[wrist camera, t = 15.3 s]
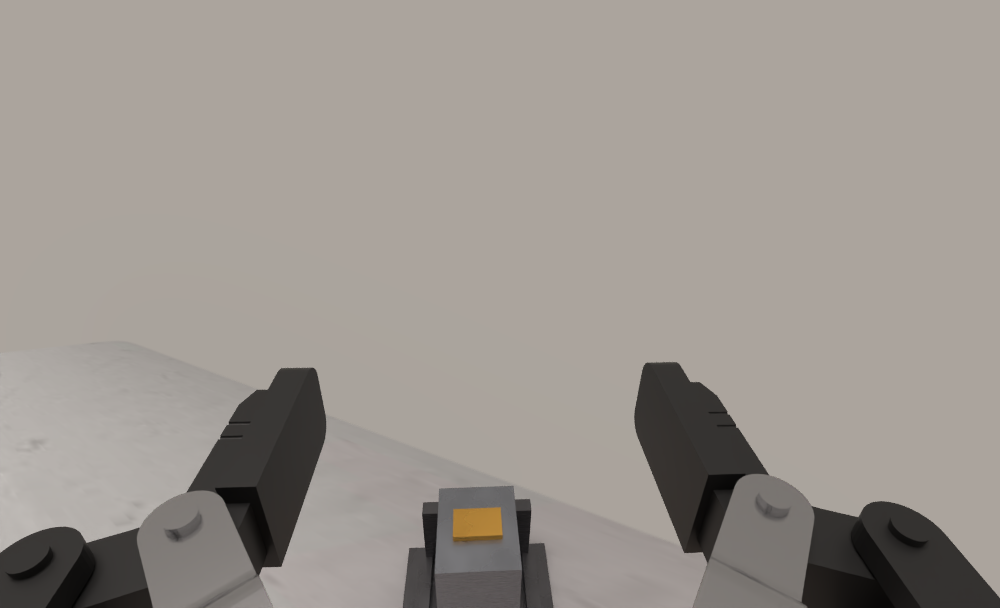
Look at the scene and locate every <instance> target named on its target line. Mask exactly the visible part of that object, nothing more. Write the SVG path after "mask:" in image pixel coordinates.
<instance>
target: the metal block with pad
mask: <svg viewBox="0 0 1000 608" xmlns="http://www.w3.org/2000/svg"><path fill="white" fill-rule="evenodd" d="M521 578H522V564H521V555H520V545H519V535H518V526H517V516H516V506H515V497H514V487H513V486H499V487H472V488H445V489H439V503H438V521H437V540H436V558H435V585H436V598H437V608H520V595H521Z"/></svg>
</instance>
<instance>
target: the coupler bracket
mask: <svg viewBox="0 0 1000 608" xmlns="http://www.w3.org/2000/svg"><path fill="white" fill-rule="evenodd" d="M438 503H439V502H427V503H423V512H422V517H423V528H424V539H425V548H409V557H408V566H407V575H406V584H405V592H404V601H403V608H437V598H436V585H435V558H436V540H437V521H438ZM515 506H516V516H517V526H518V535H519V545H520V555H521V564H522V578H521V595H520V608H553V603H552V596H551V589H550V582H549V575H548V567H547V560H546V553H545V546H544V543H540V544H529V536H530V522H531V504H530V499H521V500H515Z"/></svg>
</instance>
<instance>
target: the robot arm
mask: <svg viewBox="0 0 1000 608" xmlns="http://www.w3.org/2000/svg"><path fill="white" fill-rule="evenodd" d="M634 418H635V429H636V433H637V436H638V439H639V441H640V444H641V446H642V448H643V451H644V454H645V456H646V459H647V461H648V464H649V466H650V469H651V471H652V474H653V476H654V479H655V481H656V484H657V486H658V489H659V491H660V493H661V496H662V498H663V501H664V504H665V506H666V509H667V511H668V513H669V516H670V518H671V521H672V523H673V526H674V528H675V530H676V533H677V536H678V538H679V541H680V543H681V546H682V548H683V551H684V553H697V552H703V554H704V556H705V558H706V561H707V563H708V564H707V567H706V570H705V573H704V576H703V579H702V582H701V585H700V588H699V590H698V593H697V596H696V599H695V602H694V605H693V608H1000V598H999V597H998V596H997V594H996V593H995V592H994V591H993V590H992V588H991V587H990V586H989V585H988V584H987V583H986V582H985V580H984V579H983V578H982V577H981V576H980V574H979V573H978V572H977V571H976V570H975V569H974V568H973V566H972V565H971V564H970V563H969V562H968V560H967V559H966V558H965V557H964V556H963V555H962V553H961V552H960V551H959V550H958V549H957V548H956V546H955V545H954V544H953V543H952V542H951V541H950V539H949V538H948V537H947V536H946V535H945V534H944V533H943V532H942V530H941V529H940V528H938V527H937V526H936V525H935V524H934V523H933V522H931V521H930V520H929V519H927V518H926V517H924V516H922V515H921V514H919V513H918V512H916V511H914V510H912V509H910V508H907V507H905V506H902V505H899V504H895V503H891V502H882V501H880V502H873V503H870V504H868V505H866V506H865V507H864V508H863V510H862V512H861V514H860V516H859V517H854V516H850V515H846V514H841V513H837V512H833V511H828V510H824V509H820V508H816V507H813V506H811V505H810V503H809V501H808V500H807V499H806V498H805V496H804V495H803V494H802V493H801V492H800V491H798V490H797V489H796V488H795V487H793V486H792V485H790V484H789V483H787V482H785V481H783V480H781V479H779V478H775V477H773V476H769V474H768V473H767V471H766V470H765V468H764V467H763V465H762V464H761V462H760V461H759V459H758V457H757V456H756V454H755V453H754V452H753V450H752V448H751V447H750V445H749V444H748V442H747V441H746V439H745V438H744V436H743V435H742V433H741V432H740V430H739V429H738V428H736V424H735V422H734V421H733V419H732V418H731V417H730V415H728V414H727V410H726V409H725V407H724V406H723V404H722V403H721V401H720V400H719V398H718V397H717V395H715V394H714V393H713V392H712V391H710V390H709V389H708V388H706V387H705V386H704V385H703V384H701V383H700V382H690V381H689V379H688V378H687V376H686V374H685V373H684V371H683V369H682V368H681V366H680V365H679V364H678V363H677V362H666V363H665V362H663V363H646V364H645V365H644V367H643V370H642V375H641V381H640V386H639V391H638V397H637V402H636V407H635V416H634ZM325 435H326V416H325V411H324V406H323V400H322V396H321V391H320V385H319V381H318V376H317V372H316V370H315V369H314V368H281V369H280V370H279V371H278V372H277V375H276V376H275V378H274V380H273V382H272V383H271V385H270V387H269V389H268V390H256V391H255V392H254V393H253V394H251V395H250V396H249V397H248V398H247V399H245V400H244V401H243V402H242V403H241V404H239V406H238V407H237V409H236V411H235V412H234V414H233V416H232V417H231V419H230V421H229V425H227V426H226V427H225V429H224V431H223V432H222V434H221V436H220V437H221V438H220V440H218V441H217V442H216V444H215V446H214V447H213V449H212V451H211V452H210V454H209V456H208V457H207V459H206V461H205V462H204V464H203V466H202V468H201V469H200V471H199V473H198V474H197V476H196V478H195V479H194V481H193V483H192V484H191V486H190V488H189V489H188V491H187V493H184V494H181V495H178V496H176V497H174V498H172V499H170V500H168V501H166V502H165V503H163V504H161V505H160V506H159V507H157V508H156V509H155V510H154V511H153V512H152V513H151V514H150V515H149V516H148V517H147V518H146V519H145V520H144V522H143V523H142V525H141V527H140V528H137V529H134V530H131V531H127V532H124V533H120V534H117V535H113V536H109V537H106V538H102V539H99V540H95V541H92V542H88V543H86V541H85V540H84V538H83V536H82V535H81V533H80V532H79V531H77V530H76V529H73V528H69V527H55V528H49V529H45V530H42V531H39V532H36V533H33V534H31V535H29V536H27V537H24V538H23V539H21V540H19V541H17V542H15V543H14V544H12V545H11V546H9V547H8V548H6V549H5V550H4V551H2V552H1V553H0V608H274V607H273V605H272V603H271V601H270V599H269V596H268V594H267V592H266V590H265V587H264V585H263V583H262V581H261V579H260V577H259V574H260V572H261V569H262V567H281V566H282V563H283V560H284V557H285V554H286V552H287V549H288V546H289V543H290V540H291V537H292V534H293V531H294V528H295V525H296V522H297V520H298V517H299V514H300V511H301V508H302V505H303V502H304V499H305V496H306V493H307V490H308V488H309V485H310V482H311V479H312V476H313V473H314V470H315V467H316V464H317V461H318V458H319V456H320V453H321V450H322V447H323V444H324V440H325Z"/></svg>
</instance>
